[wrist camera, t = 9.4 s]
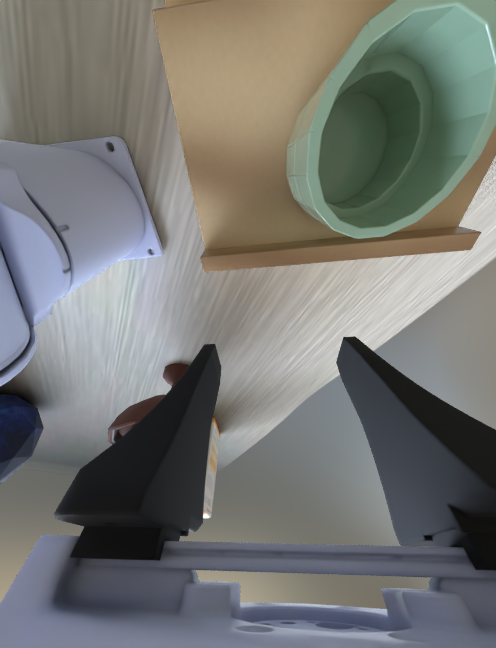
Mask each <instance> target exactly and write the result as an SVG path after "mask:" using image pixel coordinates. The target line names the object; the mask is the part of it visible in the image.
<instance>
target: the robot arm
mask: <svg viewBox="0 0 496 648" xmlns="http://www.w3.org/2000/svg"><path fill="white" fill-rule="evenodd" d="M110 143H112V145H113V146H114V151H113V152H112V151H111V150H110V148H109V144H110ZM150 249H152V250H153V251H154V253H151V251H150ZM162 254H163V248H162V245H161V242H160V239H159V236H158V234H157V231H156V228H155V225H154V222H153V219H152V217H151V214H150V211H149V208H148V205H147V202H146V199H145V197H144V194H143V191H142V188H141V185H140V182H139V180H138V177H137V174H136V171H135V168H134V165H133V163H132V160H131V157H130V154H129V151H128V148H127V146H126V144H125V142H124V141H123V140H122V139H121V138H120V137H117V136H109V137H102V138H94V139H87V140H79V141H72V142H64V143H57V144H49V145H36V144H29V143H22V142H14V141H7V140H0V386H2V385H3V384H5V383H6V382H8V381H10V380H11V379H12V378H13V377H15V376H16V375H17V374H18V373H19V372H21V371H22V370H23V369H24V367H25V366H26V365H27V364H28V363H29V362H30V360H31V359H32V357H33V355H34V353H35V350H36V347H37V337H36V334H35V331H34V328H33V327H34V326H35V325H37V324H38V323H40V322H41V321H43V320H44V319H45V318H47V317H48V316H50V315H51V314H52V311H51V308H52V305H53V304H54V303H55V302H56V301H58V300H59V299H61V298H62V297H64V296H66V295H67V294H69V293H70V292H72V291H73V290H75V289H76V288H78V287H79V286H81V285H82V284H84V283H85V282H87V281H88V280H90V279H92V278H93V277H95V276H96V275H98V274H99V273H101V272H102V271H104V270H105V269H107V268H108V267H110V266H111V265H113V264H114V263H116V262H118V261H119V260H128V259H139V258H150V257H159V256H161V255H162ZM336 363H337V366H338V369H339V373H340V376H341V378H342V381H343V383H344V385H345V388H346V390H347V392H348V394H349V396H350V398H351V401H352V403H353V405H354V407H355V409H356V411H357V414H358V416H359V418H360V420H361V423H362V425H363V428H364V430H365V433H366V436H367V439H368V442H369V445H370V448H371V451H372V454H373V457H374V460H375V463H376V466H377V470H378V473H379V476H380V480H381V483H382V486H383V490H384V493H385V497H386V501H387V504H388V508H389V512H390V515H391V520H392V524H393V528H394V531H395V533H396V536H397V539H398V541H399V544H400V545H401V546H373V545H371V546H370V545H326V544H282V543H236V542H234V543H233V542H188V541H186V542H185V541H179V539H180V536H188V532H196V531H197V530H198V529H199V527H200V526H201V525H202V523H203V509H204V494H205V481H206V469H207V459H208V449H209V440H210V431H211V425H212V419H213V414H214V410H215V405H216V400H217V395H218V390H219V385H220V377H221V364H220V361H219V357H218V353H217V349H216V346H215V344H205V345H204V346H203V347H202V349H201V350H200V352H199V353H198V355H197V356H196V358H195V359H194V360H193V362H192V363H191V365H190V366H189V367H188V369H187V370H186V371H185V373H184V374H183V375H182V377H181V378H180V379H179V380H178V381H177V383H176V384H175V385H174V386H173V388H172V389H171V390H170V391H169V392H168V393H167V395H166V396H165V397H164V398H163V399H162V400H161V401H160V402H159V403H158V404H157V405H156V406H155V407H154V408H153V409H152V410H151V411H150V412H149V413H148V414H147V415H146V416H145V417H144V418H143V419H142V420H141V421H140V422H139V423H137V424H136V425H135V426H134V427H133V428H132V429H131V430H129V431H128V432H127V433H126V434H125V435H124V436H122V437H121V438H120V439H119V440H118V441H117V442H115V443H114V444H113V445H112V446H110V447H109V448H108V449H106V450H105V451H104V452H103V453H101V454H100V455H99V456H97V457H96V458H95V459H93V460H92V461H91V462H89V463H88V464H87V465H85V466H84V467H83V468H81V469H80V471H79V472H78V474H77V476H76V477H75V479H74V480H73V482H72V484H71V486H70V487H69V489H68V491H67V492H66V494H65V496H64V498H63V499H62V501H61V503H60V504H59V506H58V508H57V509H56V511H55V513H54V516H55V518H56V519H58V520H62V521H65V522H69V523H73V524H77V525H81V526H85V527H84V529H83V531H82V533H81V535H80V536H65V535H61V536H60V535H43V536H41V537H40V538H39V539H38V541H37V543H36V544H35V546H34V547H33V549H32V551H31V553H30V554H29V556H28V558H27V559H26V561H25V563H24V564H23V566H22V568H21V570H20V571H19V573H18V575H17V576H16V578H15V580H14V581H13V583H12V585H11V586H10V588H9V590H8V592H7V593H6V595H5V597H4V598H3V600H2V602H1V603H0V648H496V430H495V429H493V428H491V427H489V426H487V425H485V424H483V423H482V422H480V421H478V420H476V419H474V418H472V417H470V416H468V415H467V414H465V413H463V412H462V411H460V410H458V409H456V408H454V407H453V406H451V405H449V404H448V403H446V402H444V401H442V400H441V399H439V398H438V397H436V396H435V395H433V394H431V393H430V392H428V391H427V390H425V389H423V388H422V387H420V386H419V385H417V384H416V383H414V382H413V381H412V380H410V379H409V378H407V377H406V376H405V375H403V374H402V373H400V372H399V371H398V370H396V369H395V368H394V367H392V366H391V365H390V364H388V363H387V362H386V361H385V360H383V359H382V358H381V357H380V356H378V355H377V354H376V353H375V352H373V351H372V350H371V349H370V348H369V347H367V346H366V345H365V344H364V343H362V342H361V341H360V340H359V339H357V338H356V337H343V341H342V344H341V348H340V351H339V355H338V358H337V362H336ZM419 546H429V547H419ZM194 570H218V571H247V572H280V573H309V574H310V573H311V574H340V575H341V574H342V575H371V576H402V577H432V578H431V579H430V581H429V589H428V590H420V589H403V588H382V591H381V592H382V595H383V598H384V602H385V605H386V608H387V609H373V608H360V607H347V606H333V605H318V604H317V605H316V604H297V603H296V604H295V603H240V584H239V583H233V582H217V581H216V582H215V581H210V582H209V581H206V582H205V581H204V582H200V581H199V580H198V576H197V573H196V571H194Z"/></svg>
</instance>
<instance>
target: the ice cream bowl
mask: <svg viewBox="0 0 496 648" xmlns="http://www.w3.org/2000/svg"><path fill="white" fill-rule="evenodd" d="M188 367H189V366H188V365H183V364H173V365H170V366H168V367H165V370H164V374H163V378H164V379H165V380H166V382H167V383H168V384H170V385H171V386H172V388H173V386H174V385H175V384H176V383H177V381H178V380H179V379H180V378H181V377H182V375H183V374H184V373H185V371H186V370H187V369H188ZM172 388H171V389H172ZM165 396H166V395H158V396H155V397H152V398H149V399H146V400H143V401H141V402H139V403H137V404H134V405H132V406H130V407H128V408H127V409H126V410H125V411H124V412H122V413H121V414H120V415H119V416H118V417H117V418H116V420H115V421H114V422H113V423H112V425H111V426H110V427H109V428H108V442H110V443H111V444H114V443H115V442H117V441H118V440H119V439H120V438H121V437H122V436H124V435H125V434H126V433H127V432H128V431H129V430H131V429H132V428H133V427H134V426H135V425H136V424H137V423H139V422H140V421H141V420H142V419H143V418H144V417H145V416H146V415H147V414H148V413H149V412H150V411H151V410H152V409H153V408H154V407H155V406H156V405H157V404H158V403H159V402H160V401H161V400H162V399H163V398H164V397H165Z"/></svg>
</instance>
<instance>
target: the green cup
mask: <svg viewBox="0 0 496 648" xmlns="http://www.w3.org/2000/svg"><path fill="white" fill-rule="evenodd" d="M495 125H496V0H394V1H393V2H391V3H390V4H389V5H387V6H386V7H385V8H384V9H382V10H381V11H380V12H378V13H377V14H376V15H374V16H373V17H372V18H371V19H369V20H368V22H367V23H366V24H365V25H364V26H363V27H362V29H361V30H360V31H359V32H358V34H357V35H356V36H355V38H354V39H353V40H352V42H351V43H350V44H349V46H348V47H347V48H346V50H345V51H344V52H343V53H342V55H341V56H340V57H339V59H338V60H337V61H336V63H335V64H334V65H333V67H332V68H331V69H330V71H329V72H328V73H327V75H326V76H325V77H324V79H323V80H322V81H321V82H320V84H319V85H318V86H317V88H316V89H315V90H314V92H313V93H312V95H311V96H310V98H309V99H308V101H307V102H306V104H305V105H304V107H303V108H302V110H301V111H300V112H299V115H298V117H297V118H296V121H295V124H294V127H293V130H292V134H291V137H290V140H289V143H288V148H287V170H286V174H287V179H288V182H289V186H290V189H291V192H292V195H293V197H294V199H295V200H296V201H297V203H298V204H299V205H300V206H301V207H302V208H303V209H304V211H305V212H307V213H308V214H310V215H311V216H313V217H314V218H316V219H317V220H319V221H320V222H322V223H323V224H325V225H326V226H328V227H329V228H331V229H332V230H334V231H336V232H339V233H342V234H344V235H347V236H350V237H353V238H357V239H360V238H371V237H382V236H386V235H389V234H391V233H393V232H395V231H397V230H400V229H402V228H404V227H406V226H408V225H411V224H413V223H415V222H416V221H418V220H419V219H421V218H422V217H423V216H424V215H426V214H427V213H428V212H429V211H430V210H432V209H433V208H434V207H435V206H437V205H438V204H439V203H440V202H442V201H443V200H444V199H445V198H447V197H448V195H450V194H451V192H452V191H453V190H454V189H455V187H456V186H457V185H458V184H459V182H460V181H461V180H462V179H463V177H464V176H465V175H466V174H467V172H468V171H469V170H470V169H471V167H472V166H473V165H474V164H475V162H476V161H477V160H478V159H479V156H480V155H481V154H482V152H483V150H484V148H485V146H486V144H487V142H488V140H489V137H490V135H491V133H492V131H493V129H494V127H495Z"/></svg>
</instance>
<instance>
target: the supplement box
mask: <svg viewBox="0 0 496 648" xmlns="http://www.w3.org/2000/svg"><path fill="white" fill-rule="evenodd" d="M219 441H220V433H219V429H218V426H217V424H216V421H215V418H213V419H212V425H211V431H210V440H209V449H208V459H207V469H206V481H205V494H204V509H203V518H210V517H211V511H212V504H213V494H214V485H215V476H216V467H217V459H218V450H219Z"/></svg>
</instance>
